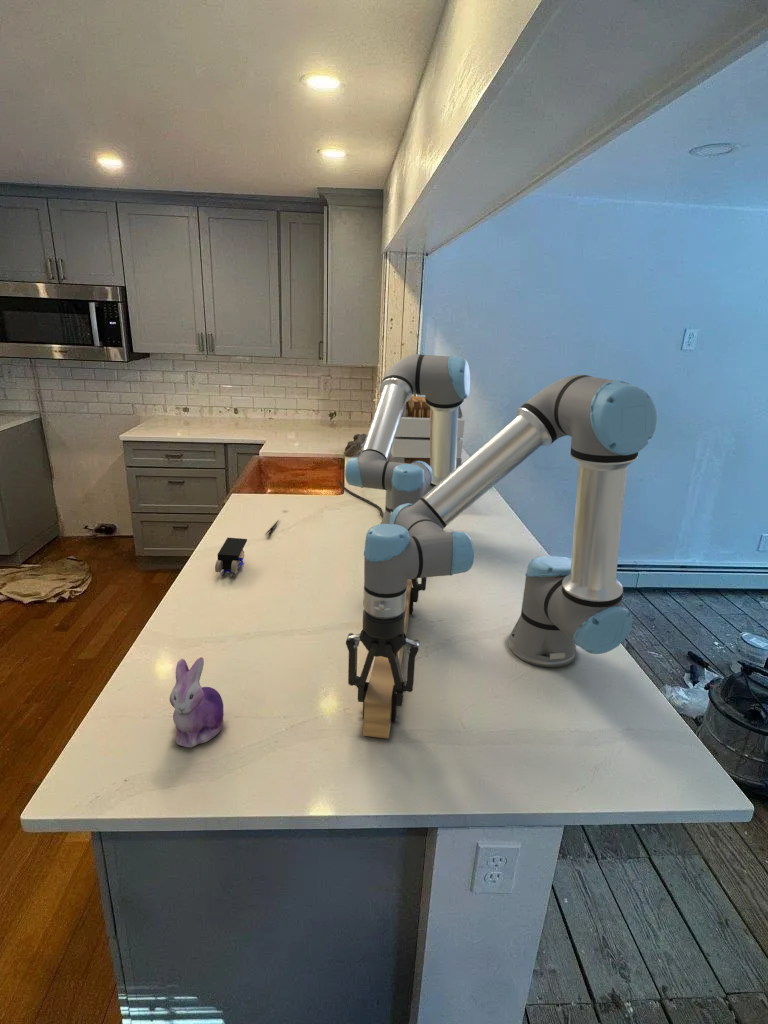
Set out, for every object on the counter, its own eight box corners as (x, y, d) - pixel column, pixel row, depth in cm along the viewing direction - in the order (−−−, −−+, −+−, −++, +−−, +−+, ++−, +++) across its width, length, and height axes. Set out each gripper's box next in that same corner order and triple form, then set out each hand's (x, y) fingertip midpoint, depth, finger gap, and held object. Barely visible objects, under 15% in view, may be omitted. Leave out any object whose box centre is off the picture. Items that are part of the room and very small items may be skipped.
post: (393, 602, 152) (394, 576, 150) (411, 604, 152) (412, 578, 149) (363, 735, 105) (364, 700, 102) (388, 738, 104) (390, 703, 102)
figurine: (177, 757, 98) (169, 685, 93) (168, 720, 106) (161, 652, 101) (232, 741, 102) (228, 671, 97) (219, 707, 111) (215, 640, 105)
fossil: (344, 439, 317) (365, 424, 312) (355, 453, 320) (376, 438, 315) (338, 453, 298) (360, 437, 293) (349, 467, 300) (371, 451, 295)
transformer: (382, 463, 289) (386, 382, 275) (445, 464, 293) (451, 384, 279) (390, 482, 257) (394, 392, 243) (460, 483, 261) (468, 394, 247)
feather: (285, 514, 217) (288, 510, 216) (267, 540, 190) (270, 535, 190) (282, 511, 216) (284, 507, 216) (262, 537, 190) (265, 532, 189)
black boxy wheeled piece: (238, 584, 162) (249, 557, 175) (236, 562, 158) (247, 536, 172) (215, 584, 161) (227, 556, 175) (212, 561, 158) (225, 535, 171)
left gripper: (367, 530, 137) (364, 615, 145) (441, 536, 135) (434, 622, 143) (371, 519, 144) (368, 601, 152) (442, 525, 142) (435, 607, 150)
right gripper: (330, 615, 99) (330, 724, 107) (433, 625, 97) (424, 735, 105) (339, 595, 106) (338, 698, 114) (434, 604, 104) (426, 708, 112)
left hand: (400, 611), depth 147 cm, fingers closed on post, 5 cm apart
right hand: (379, 716), depth 109 cm, fingers closed on post, 5 cm apart
